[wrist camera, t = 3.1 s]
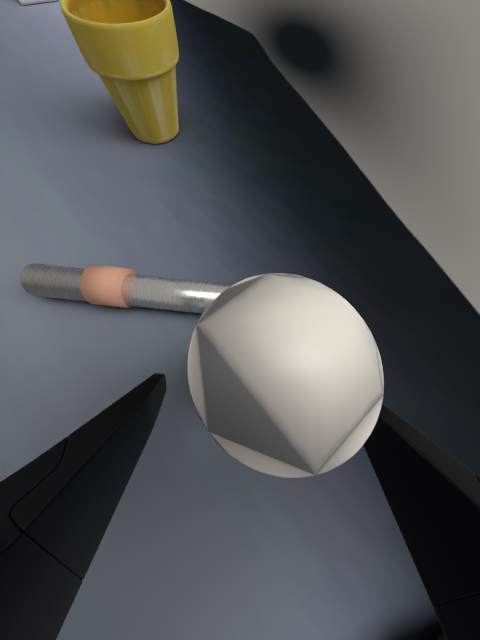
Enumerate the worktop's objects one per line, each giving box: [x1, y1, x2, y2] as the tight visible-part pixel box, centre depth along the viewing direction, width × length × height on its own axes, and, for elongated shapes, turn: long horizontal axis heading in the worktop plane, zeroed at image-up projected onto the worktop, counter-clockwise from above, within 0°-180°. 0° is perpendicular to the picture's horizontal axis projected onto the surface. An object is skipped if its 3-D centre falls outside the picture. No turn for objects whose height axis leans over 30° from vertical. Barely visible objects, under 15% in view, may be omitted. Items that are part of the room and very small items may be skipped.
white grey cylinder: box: [188, 273, 384, 478], centre depth 11 cm, size 5×5×13 cm
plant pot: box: [60, 0, 179, 144], centre depth 22 cm, size 10×10×10 cm
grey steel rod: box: [20, 264, 232, 313], centre depth 17 cm, size 4×26×4 cm, turn 85°
